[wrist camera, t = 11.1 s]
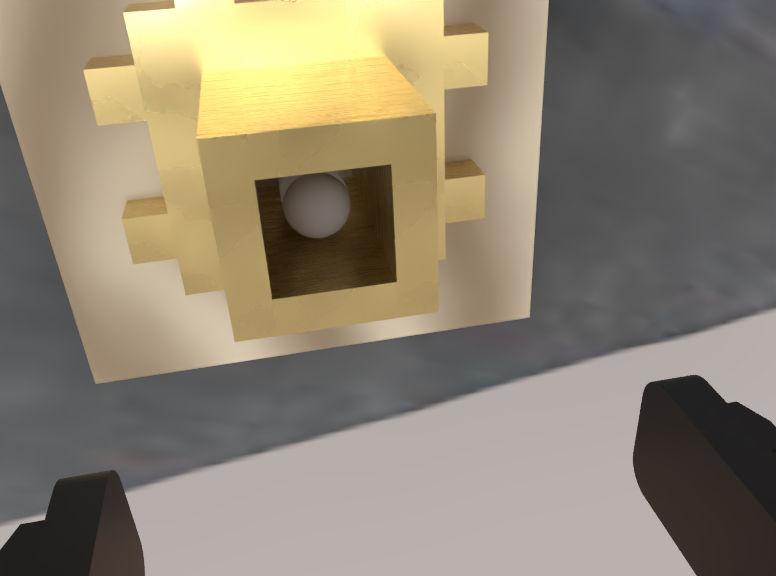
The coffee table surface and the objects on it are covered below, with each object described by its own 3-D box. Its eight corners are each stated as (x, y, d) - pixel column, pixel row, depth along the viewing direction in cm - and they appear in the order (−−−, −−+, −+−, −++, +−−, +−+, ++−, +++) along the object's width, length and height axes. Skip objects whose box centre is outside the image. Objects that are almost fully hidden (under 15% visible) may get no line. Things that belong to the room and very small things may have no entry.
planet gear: (474, -75, 22) (579, -50, 16) (471, 268, 28) (544, 387, 22) (65, -45, 20) (-6, -5, 14) (155, 313, 26) (134, 456, 20)
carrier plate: (540, -176, 22) (678, -195, 16) (516, 298, 31) (598, 418, 24) (-54, -146, 20) (-195, -152, 13) (101, 360, 28) (64, 513, 22)
